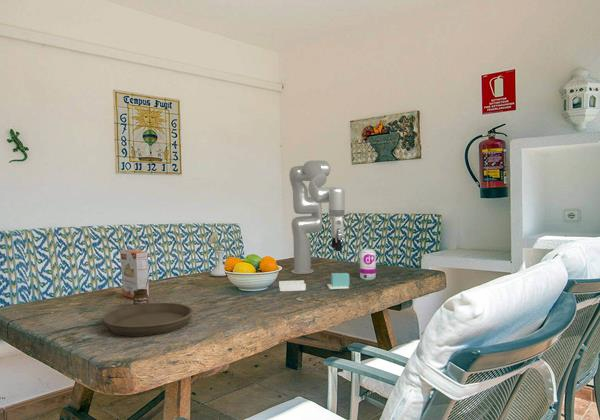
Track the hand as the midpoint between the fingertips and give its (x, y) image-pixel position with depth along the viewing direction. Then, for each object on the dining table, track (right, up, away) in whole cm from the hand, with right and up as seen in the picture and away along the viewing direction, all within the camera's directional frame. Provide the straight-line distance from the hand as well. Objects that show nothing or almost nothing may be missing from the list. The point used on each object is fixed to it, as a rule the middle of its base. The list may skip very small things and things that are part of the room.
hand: (336, 249), depth 232 cm
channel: (-21, -19, -3) cm, 28 cm away
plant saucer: (-71, -23, -59) cm, 95 cm away
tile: (0, -18, 0) cm, 18 cm away
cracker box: (-92, -21, -15) cm, 95 cm away
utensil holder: (-83, -21, -33) cm, 92 cm away
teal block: (+2, -17, 0) cm, 17 cm away
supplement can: (+18, -17, +20) cm, 32 cm away
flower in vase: (-62, -18, +34) cm, 73 cm away
